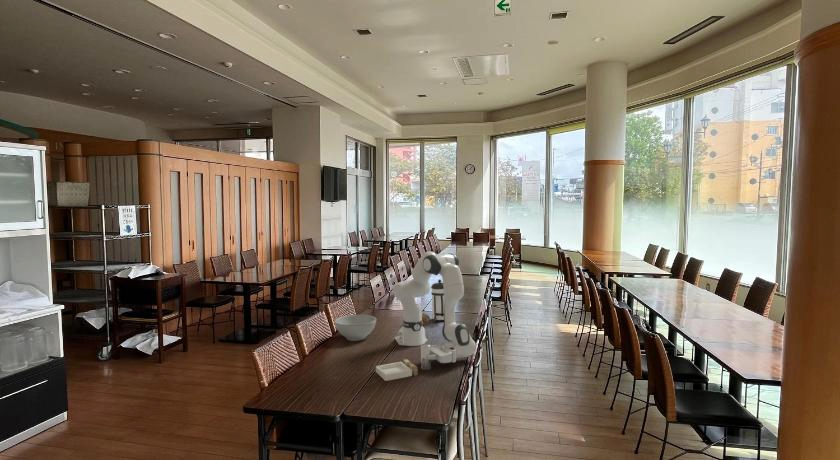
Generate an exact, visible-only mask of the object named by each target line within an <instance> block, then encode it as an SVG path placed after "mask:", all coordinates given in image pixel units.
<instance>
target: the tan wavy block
mask: <svg viewBox="0 0 840 460" xmlns="http://www.w3.org/2000/svg"><path fill="white" fill-rule="evenodd" d="M402 363H403V364H405V365H406V366H407V367H409V368H410V369H411V370H412V376H418V372H419V371H418V367H417V365H415V364H414V363H413V362H411V361H410V360H409V359H407V358H403V359H402Z"/></svg>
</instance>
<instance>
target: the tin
mask: <svg viewBox="0 0 840 460" xmlns="http://www.w3.org/2000/svg"><path fill="white" fill-rule="evenodd" d="M422 320H423V327H425V326H428V325H429V323H430V322H431V318H430V316H429V315H428V314H426V313H422Z"/></svg>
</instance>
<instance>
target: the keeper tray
mask: <svg viewBox="0 0 840 460" xmlns="http://www.w3.org/2000/svg"><path fill="white" fill-rule="evenodd" d="M375 373H376V374H377V375H378V376H379V377H381V378H382V379H383V381H385V382H387V381H392V380H398V379H403V378H410V377H412V376H413V374H412V370H411V369H410V368H409V367H407V366H406V365H405V364H403V361H399V362H398V361H397V362H391V363H387V364H386V363H385V364H381V365H376V366H375Z"/></svg>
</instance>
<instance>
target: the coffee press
mask: <svg viewBox="0 0 840 460" xmlns="http://www.w3.org/2000/svg"><path fill="white" fill-rule="evenodd" d="M445 286H446V285H445ZM430 287H431V288H430V290H431V291H430V292H431V293H430V294H431V312H432V313H431V314H432V316H431V320H433V322H434V323H437V321H444V308H443V302H444V288H443V282H442V280H441V279H438V281H437V282H434V283H433V284H432V285H430Z"/></svg>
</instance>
